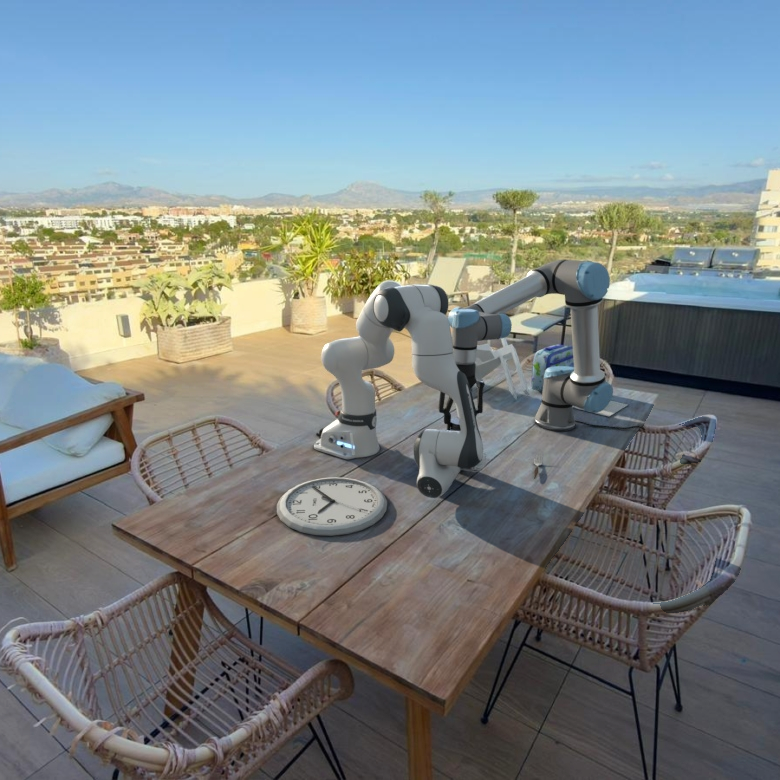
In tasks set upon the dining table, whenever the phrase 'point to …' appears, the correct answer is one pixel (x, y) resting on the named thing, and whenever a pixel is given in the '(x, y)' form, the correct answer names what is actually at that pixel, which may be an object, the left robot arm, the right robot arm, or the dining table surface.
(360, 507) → the wall clock
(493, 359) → the white plastic object
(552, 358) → the lunch box
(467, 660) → the dining table surface
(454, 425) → the lid
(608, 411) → the invitation card
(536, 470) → the fork
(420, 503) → the dining table surface
